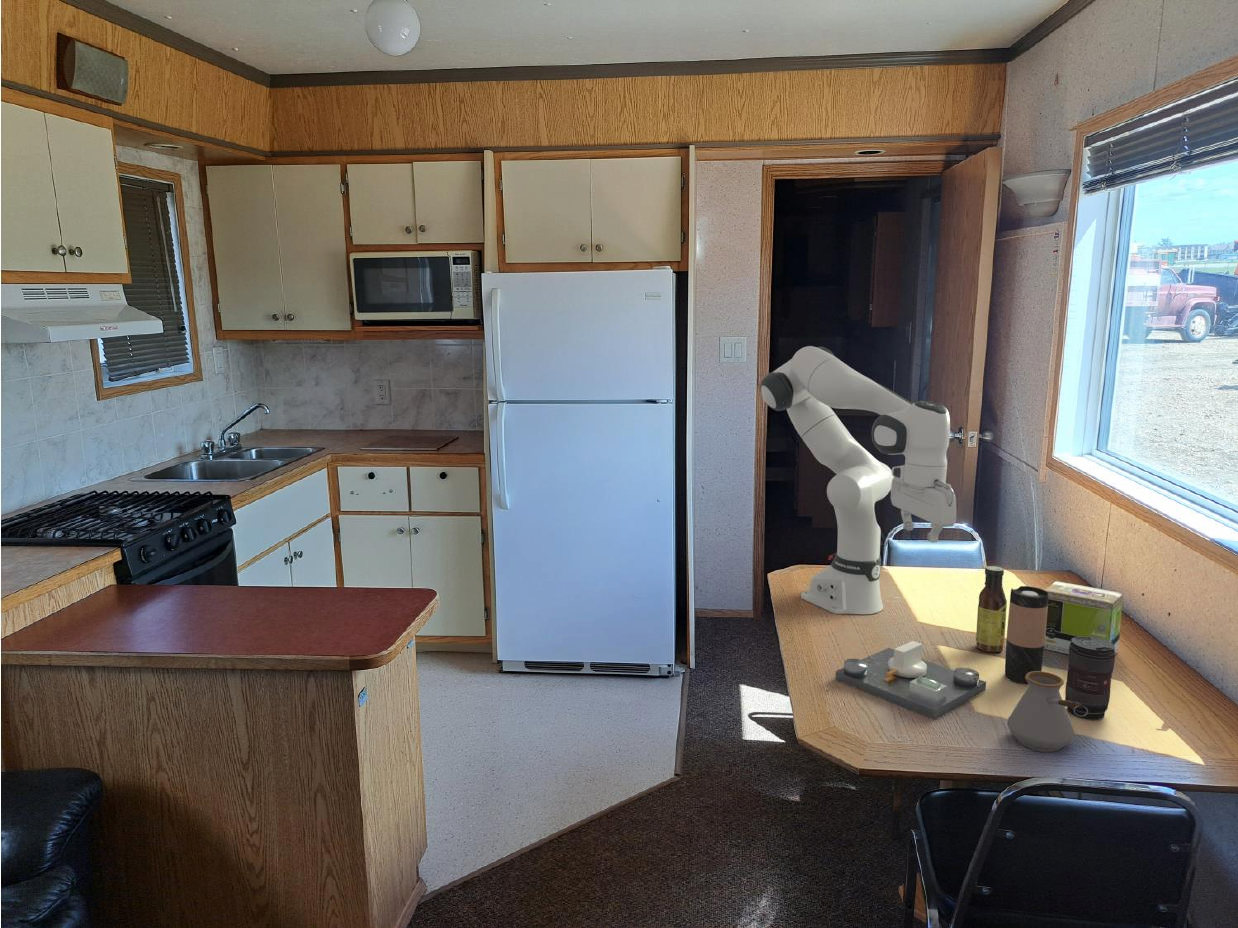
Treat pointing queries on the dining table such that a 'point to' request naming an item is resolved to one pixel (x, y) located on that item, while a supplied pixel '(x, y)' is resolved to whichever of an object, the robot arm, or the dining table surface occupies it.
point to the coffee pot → (1043, 714)
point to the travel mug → (1025, 632)
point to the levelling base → (903, 685)
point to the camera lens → (1089, 676)
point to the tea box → (1081, 615)
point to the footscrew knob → (907, 661)
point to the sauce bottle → (991, 612)
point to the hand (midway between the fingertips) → (919, 535)
